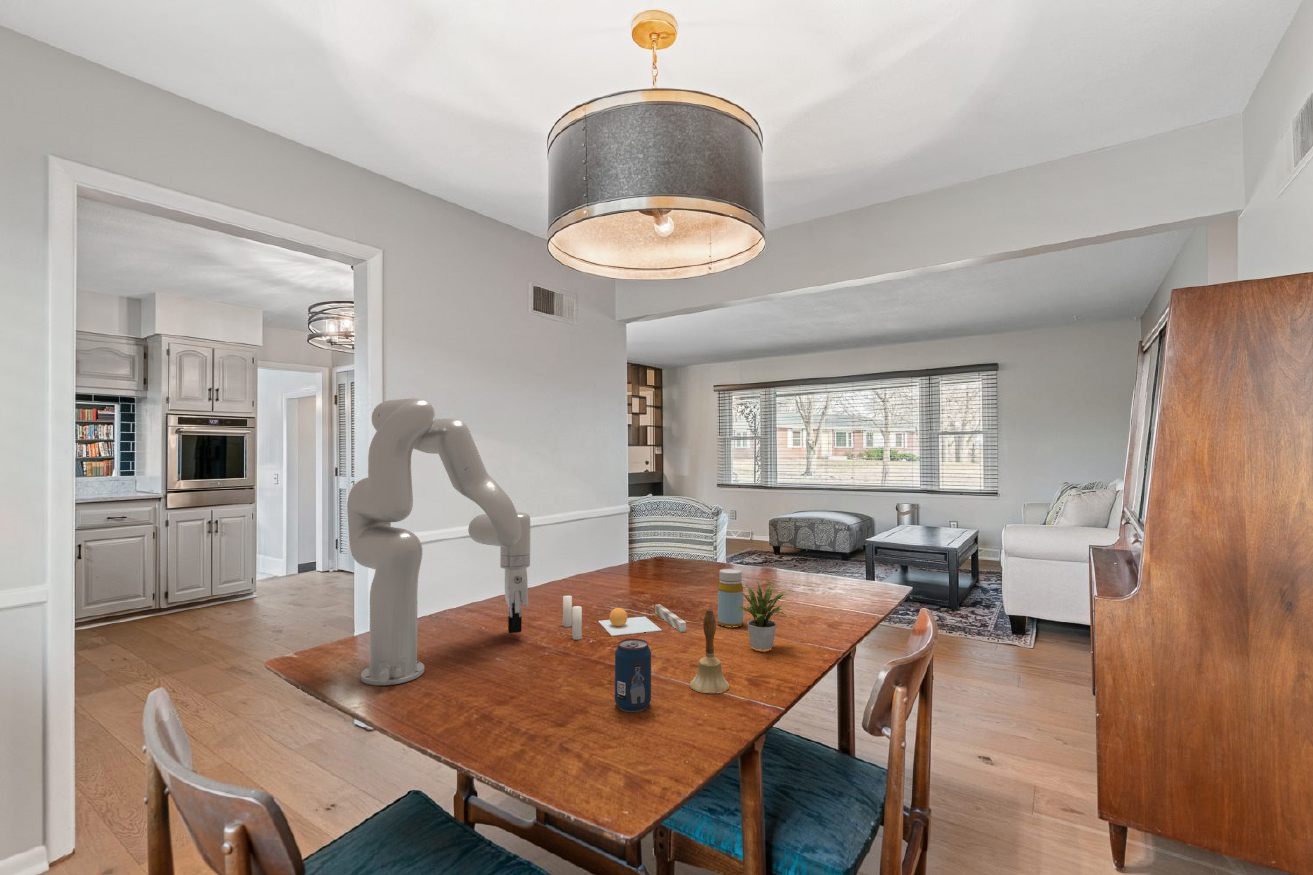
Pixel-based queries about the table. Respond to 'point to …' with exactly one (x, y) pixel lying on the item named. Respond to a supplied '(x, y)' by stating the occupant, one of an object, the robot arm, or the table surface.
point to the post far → (567, 611)
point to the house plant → (762, 617)
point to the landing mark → (630, 626)
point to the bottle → (730, 598)
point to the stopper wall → (670, 618)
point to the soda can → (633, 675)
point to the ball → (618, 617)
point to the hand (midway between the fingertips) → (514, 631)
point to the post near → (576, 622)
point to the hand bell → (709, 662)
